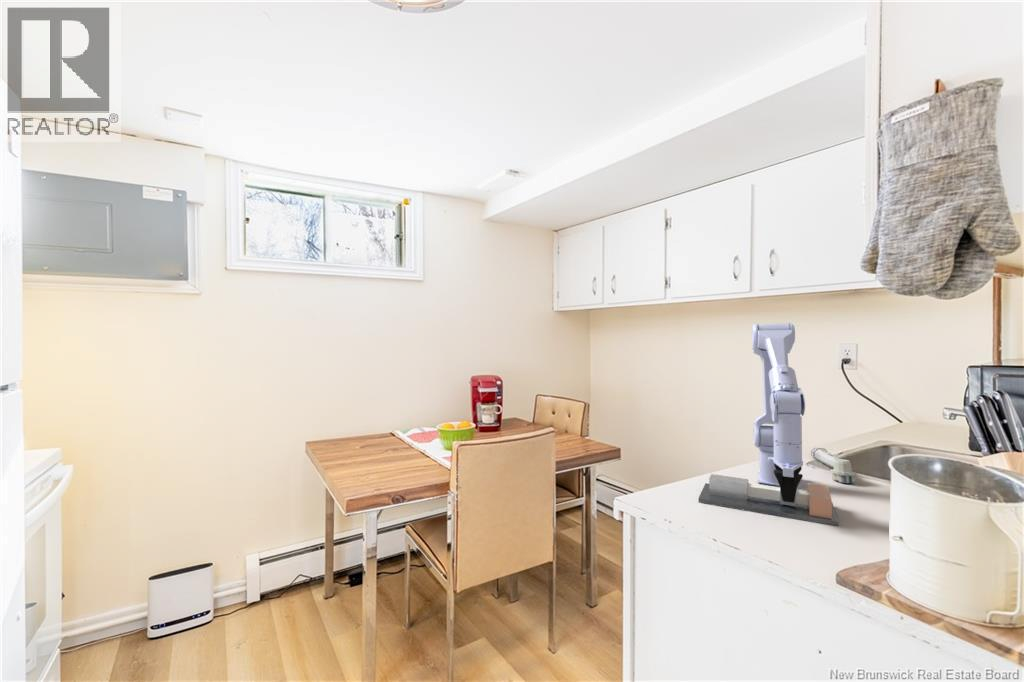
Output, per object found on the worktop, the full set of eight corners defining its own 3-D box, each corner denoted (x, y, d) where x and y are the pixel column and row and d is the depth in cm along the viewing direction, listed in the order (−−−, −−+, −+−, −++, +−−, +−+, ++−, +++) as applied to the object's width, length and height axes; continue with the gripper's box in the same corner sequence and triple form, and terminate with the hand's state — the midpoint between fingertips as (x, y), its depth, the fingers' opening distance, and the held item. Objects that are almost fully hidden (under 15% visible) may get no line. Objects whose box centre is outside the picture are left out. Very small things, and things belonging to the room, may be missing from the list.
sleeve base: (705, 486, 119) (705, 468, 119) (832, 506, 104) (832, 485, 104) (698, 502, 109) (698, 482, 109) (837, 526, 94) (837, 503, 94)
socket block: (807, 499, 106) (807, 482, 106) (827, 502, 104) (827, 485, 104) (809, 515, 98) (809, 496, 98) (831, 518, 96) (831, 499, 95)
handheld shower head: (827, 447, 141) (857, 458, 117) (828, 468, 140) (859, 484, 117) (808, 446, 143) (834, 457, 119) (809, 467, 142) (836, 482, 118)
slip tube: (741, 492, 111) (740, 478, 111) (817, 503, 103) (817, 488, 102) (739, 497, 108) (739, 483, 107) (819, 510, 99) (818, 494, 99)
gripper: (768, 433, 112) (769, 485, 112) (767, 446, 100) (767, 505, 100) (801, 436, 108) (802, 490, 109) (804, 450, 96) (805, 511, 96)
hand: (788, 498), depth 104 cm, fingers closed on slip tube, 4 cm apart
